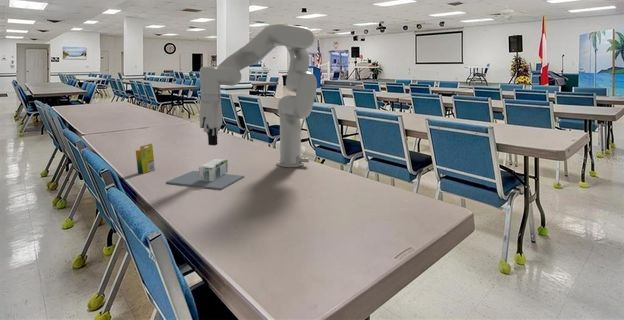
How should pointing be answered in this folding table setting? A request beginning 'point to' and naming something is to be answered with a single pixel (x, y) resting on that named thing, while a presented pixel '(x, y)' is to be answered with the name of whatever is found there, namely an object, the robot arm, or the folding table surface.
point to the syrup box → (213, 169)
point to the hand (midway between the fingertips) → (213, 144)
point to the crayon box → (145, 159)
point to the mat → (194, 181)
